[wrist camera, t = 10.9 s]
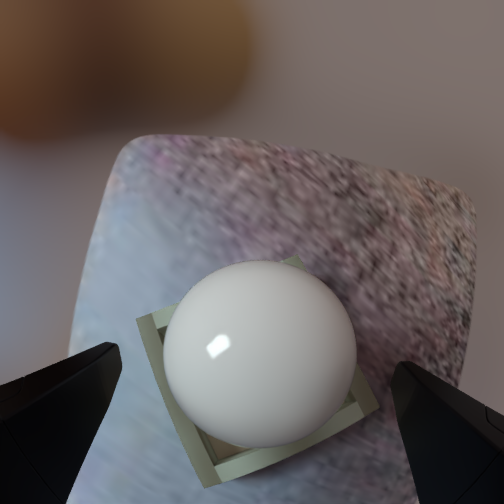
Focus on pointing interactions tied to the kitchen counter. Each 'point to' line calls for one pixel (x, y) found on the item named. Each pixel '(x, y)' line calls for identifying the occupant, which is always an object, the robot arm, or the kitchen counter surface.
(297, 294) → the lightbulb
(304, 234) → the kitchen counter surface
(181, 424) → the open box
